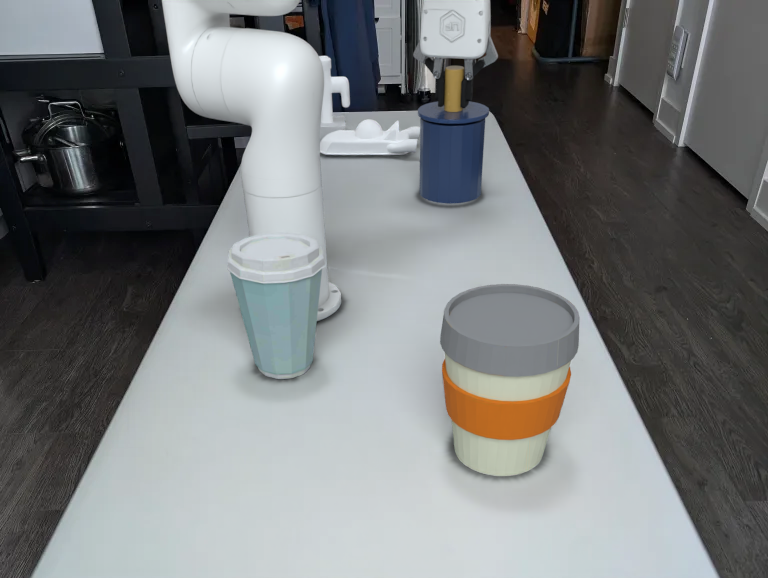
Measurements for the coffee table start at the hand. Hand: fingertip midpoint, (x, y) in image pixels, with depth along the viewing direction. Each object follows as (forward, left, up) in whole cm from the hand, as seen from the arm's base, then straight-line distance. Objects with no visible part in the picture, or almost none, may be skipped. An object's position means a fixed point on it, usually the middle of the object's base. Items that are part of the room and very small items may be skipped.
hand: (453, 104), depth 127 cm
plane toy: (+20, +21, -15) cm, 32 cm away
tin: (0, 0, -14) cm, 14 cm away
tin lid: (0, 0, -1) cm, 1 cm away
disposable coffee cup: (-60, +6, -15) cm, 62 cm away
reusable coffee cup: (-70, -21, -15) cm, 75 cm away
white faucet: (+25, +31, -15) cm, 42 cm away
